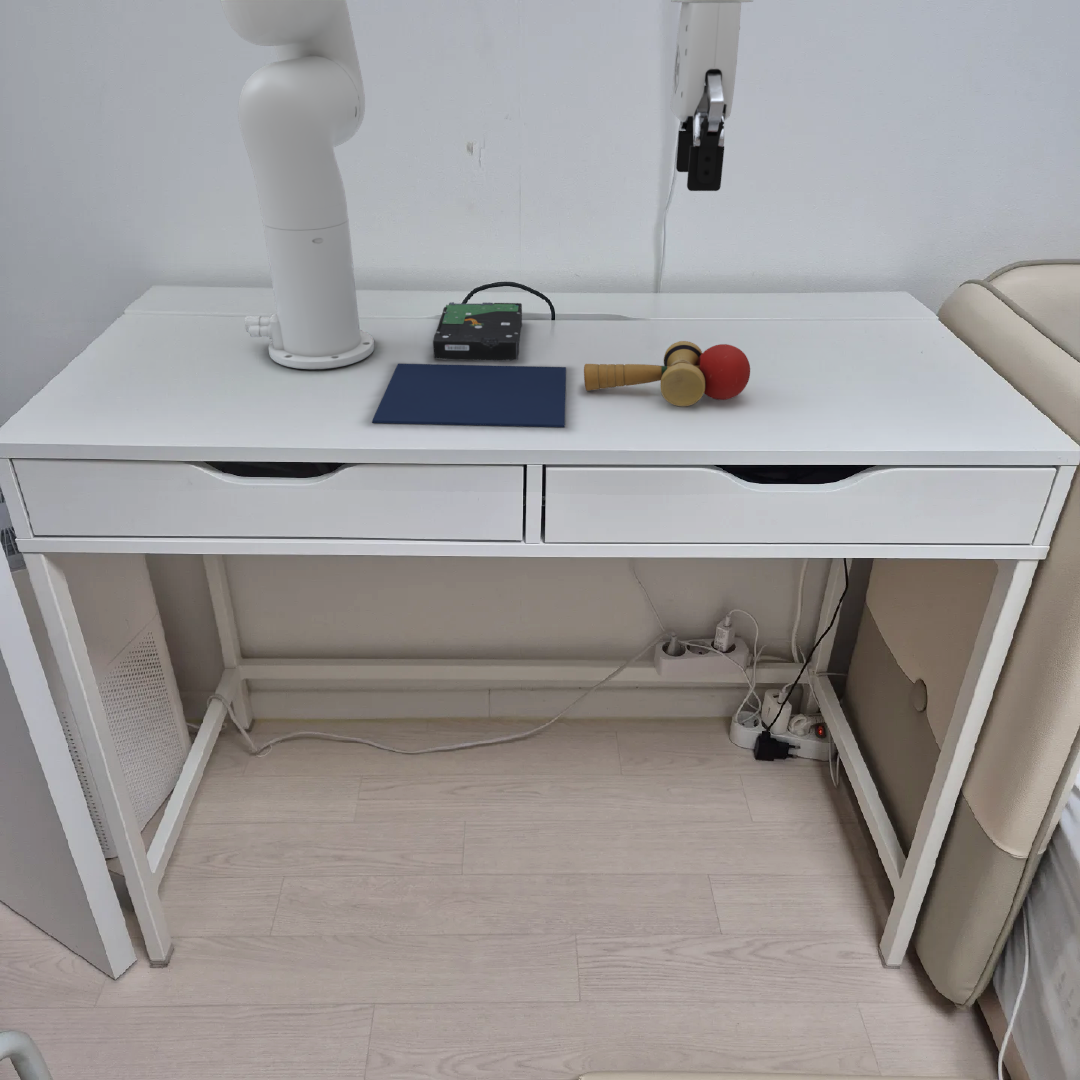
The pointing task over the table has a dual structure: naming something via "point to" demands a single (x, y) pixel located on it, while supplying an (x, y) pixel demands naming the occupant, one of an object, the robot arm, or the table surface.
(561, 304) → the table surface
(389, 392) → the napkin
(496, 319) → the disk drive
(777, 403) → the table surface
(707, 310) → the table surface
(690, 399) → the kendama
